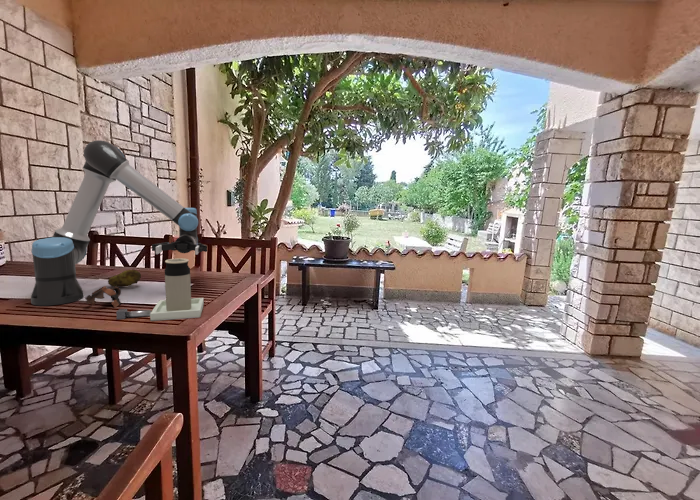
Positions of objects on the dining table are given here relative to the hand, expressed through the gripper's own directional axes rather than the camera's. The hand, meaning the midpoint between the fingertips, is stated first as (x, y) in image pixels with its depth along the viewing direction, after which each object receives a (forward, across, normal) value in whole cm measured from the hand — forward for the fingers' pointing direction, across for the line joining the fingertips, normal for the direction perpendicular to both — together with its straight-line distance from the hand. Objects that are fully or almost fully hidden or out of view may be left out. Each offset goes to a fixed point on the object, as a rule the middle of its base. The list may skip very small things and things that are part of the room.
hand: (176, 251), depth 127 cm
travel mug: (+13, -3, -20) cm, 24 cm away
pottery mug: (-1, +24, -21) cm, 32 cm away
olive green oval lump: (-28, +25, -21) cm, 43 cm away
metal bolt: (+15, +10, -20) cm, 27 cm away
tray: (+13, -3, -20) cm, 24 cm away
